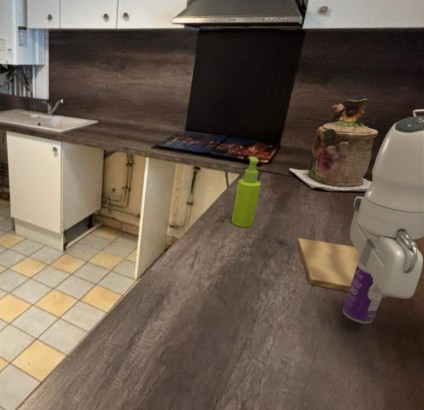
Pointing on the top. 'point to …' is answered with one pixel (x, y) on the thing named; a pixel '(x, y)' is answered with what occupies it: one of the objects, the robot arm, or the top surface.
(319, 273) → the cutting board
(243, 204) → the soap dispenser
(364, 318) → the container
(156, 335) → the top surface
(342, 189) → the cookie jar
